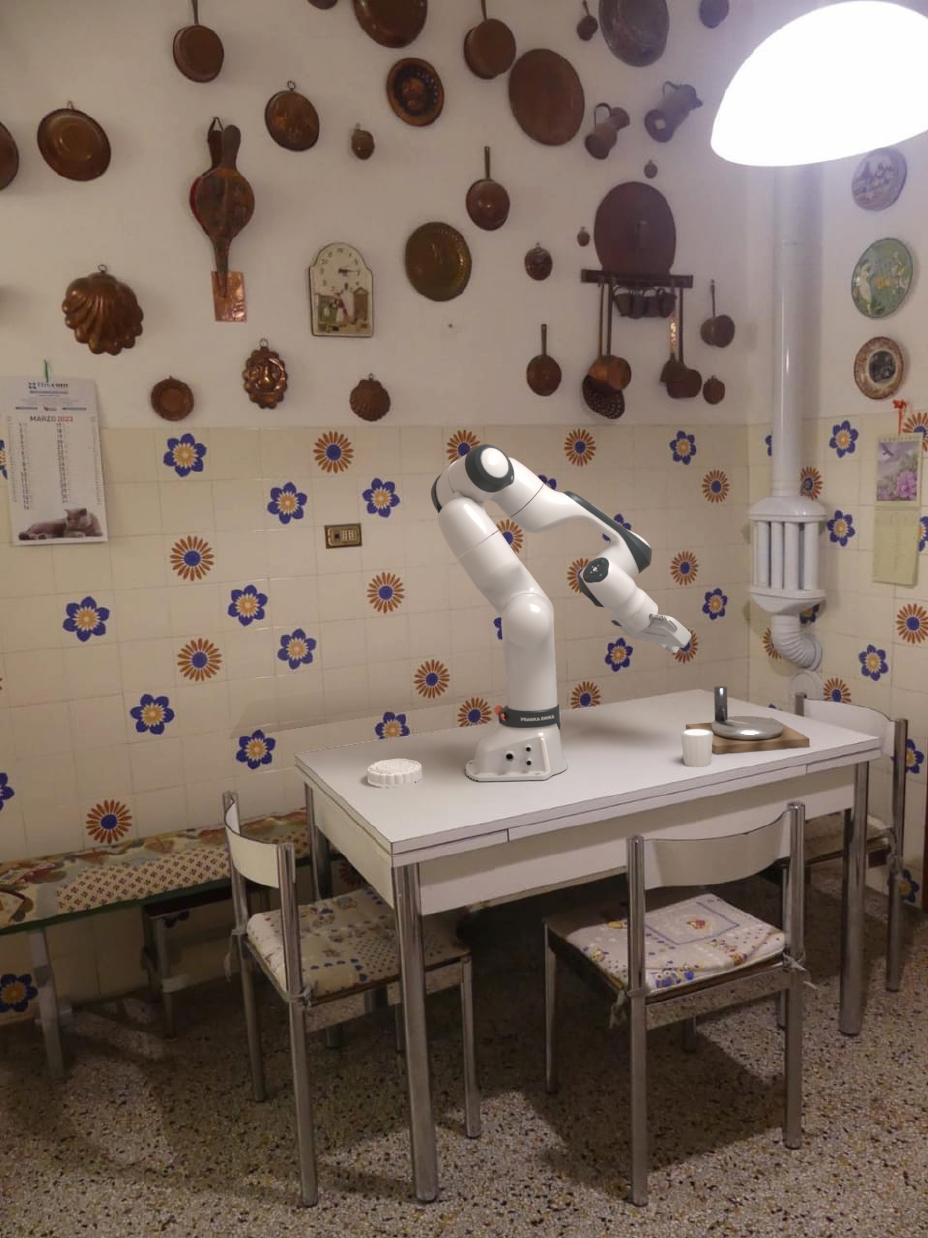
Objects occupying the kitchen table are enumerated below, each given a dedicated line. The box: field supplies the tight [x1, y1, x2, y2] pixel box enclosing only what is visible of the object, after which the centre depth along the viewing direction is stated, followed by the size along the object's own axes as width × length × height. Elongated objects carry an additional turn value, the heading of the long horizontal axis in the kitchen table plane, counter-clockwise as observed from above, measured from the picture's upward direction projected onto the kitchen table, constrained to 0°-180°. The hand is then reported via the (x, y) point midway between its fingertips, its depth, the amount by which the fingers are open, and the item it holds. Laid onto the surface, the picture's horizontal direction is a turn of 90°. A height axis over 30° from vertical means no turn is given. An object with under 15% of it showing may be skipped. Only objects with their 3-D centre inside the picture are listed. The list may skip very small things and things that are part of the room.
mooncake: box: [366, 757, 423, 785], centre depth 207 cm, size 12×12×4 cm
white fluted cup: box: [680, 729, 713, 768], centre depth 207 cm, size 7×7×7 cm
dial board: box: [685, 717, 810, 755], centre depth 223 cm, size 22×20×2 cm
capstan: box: [712, 685, 784, 740], centre depth 222 cm, size 16×16×10 cm
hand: (673, 650), depth 221 cm, fingers closed
